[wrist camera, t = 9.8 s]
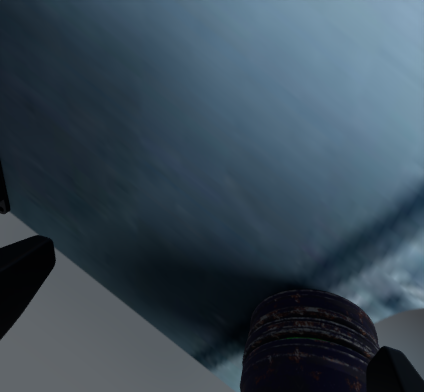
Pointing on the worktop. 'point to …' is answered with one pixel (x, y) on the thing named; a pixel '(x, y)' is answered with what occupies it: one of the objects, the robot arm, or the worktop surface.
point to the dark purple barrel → (308, 344)
